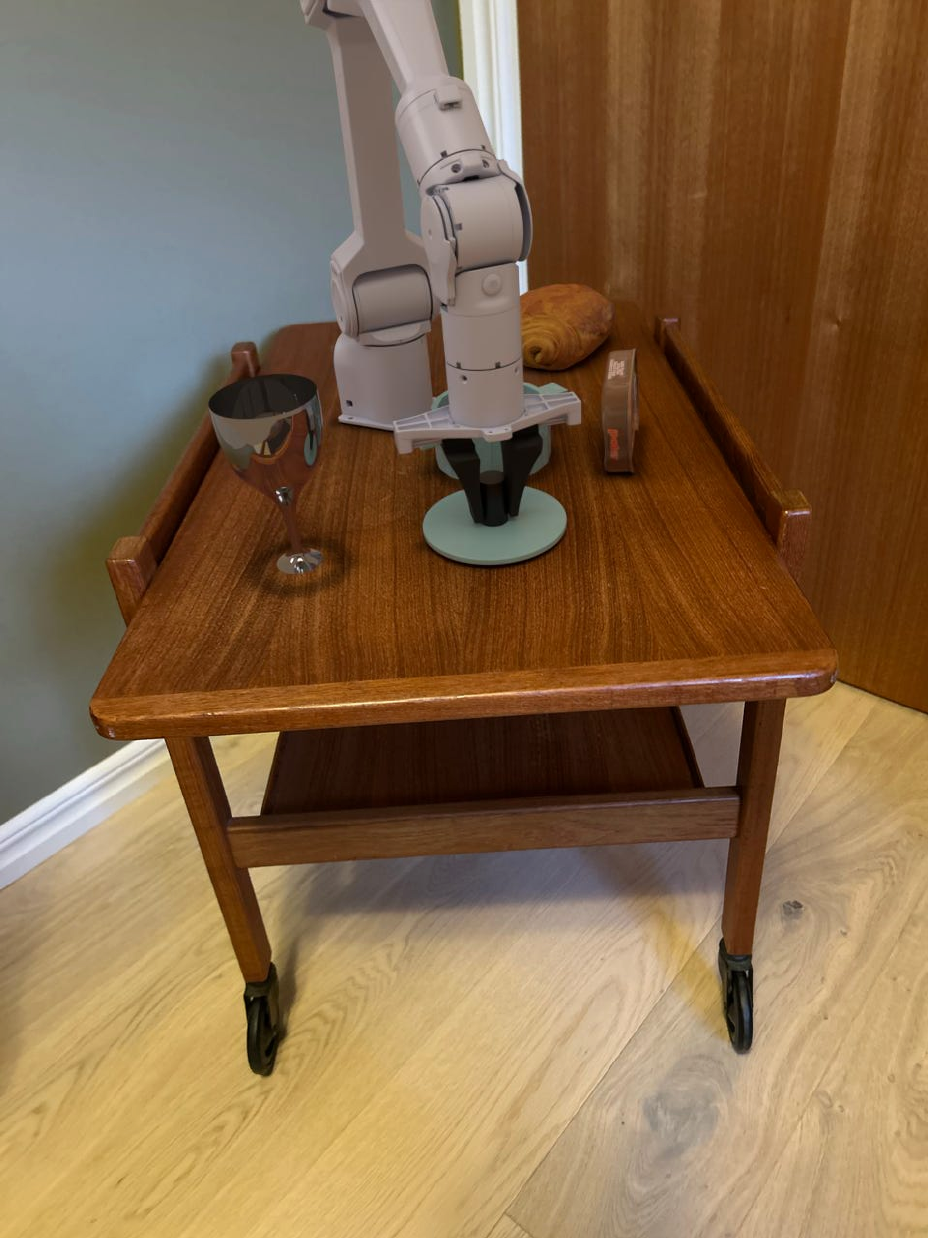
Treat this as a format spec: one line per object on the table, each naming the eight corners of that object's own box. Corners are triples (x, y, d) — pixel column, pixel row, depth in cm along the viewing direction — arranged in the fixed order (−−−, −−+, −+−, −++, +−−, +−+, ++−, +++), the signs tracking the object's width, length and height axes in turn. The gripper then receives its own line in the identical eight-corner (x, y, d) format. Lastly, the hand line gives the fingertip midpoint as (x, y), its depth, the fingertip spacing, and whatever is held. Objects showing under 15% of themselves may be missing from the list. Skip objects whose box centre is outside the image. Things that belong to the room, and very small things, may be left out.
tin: (633, 489, 81) (636, 400, 76) (597, 488, 82) (598, 400, 76) (640, 416, 93) (643, 334, 87) (608, 415, 93) (610, 334, 88)
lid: (398, 525, 78) (390, 472, 75) (512, 481, 83) (510, 429, 80) (474, 589, 70) (469, 533, 67) (596, 536, 75) (597, 481, 72)
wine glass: (307, 604, 71) (268, 427, 62) (232, 579, 74) (184, 408, 65) (367, 553, 76) (339, 382, 67) (295, 532, 80) (258, 367, 70)
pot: (393, 466, 88) (385, 409, 84) (529, 417, 94) (527, 362, 91) (452, 510, 80) (446, 450, 77) (595, 454, 87) (596, 396, 83)
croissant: (630, 351, 112) (638, 283, 107) (574, 381, 100) (580, 307, 96) (527, 333, 118) (530, 268, 114) (463, 360, 107) (464, 289, 103)
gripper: (395, 392, 63) (416, 555, 71) (595, 360, 65) (592, 522, 73) (380, 356, 69) (401, 511, 77) (565, 327, 71) (566, 482, 79)
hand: (493, 514), depth 76 cm, fingers closed on lid, 2 cm apart
